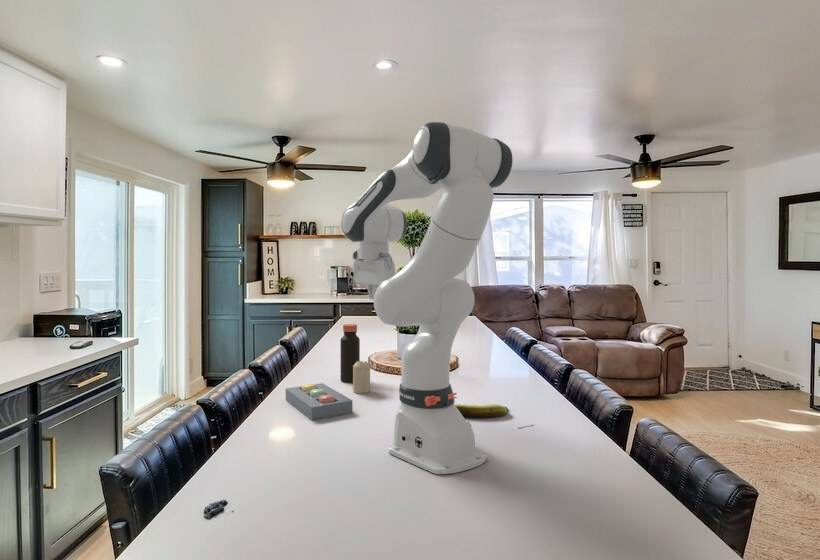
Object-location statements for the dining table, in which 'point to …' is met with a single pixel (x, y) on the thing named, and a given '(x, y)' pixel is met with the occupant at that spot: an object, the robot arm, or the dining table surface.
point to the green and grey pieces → (482, 411)
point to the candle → (361, 377)
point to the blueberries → (214, 509)
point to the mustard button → (308, 387)
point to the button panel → (313, 406)
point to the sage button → (317, 392)
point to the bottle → (349, 351)
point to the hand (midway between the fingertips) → (373, 299)
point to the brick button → (326, 399)
